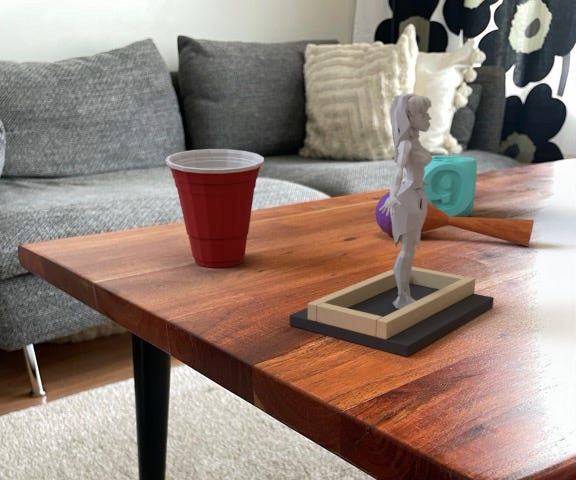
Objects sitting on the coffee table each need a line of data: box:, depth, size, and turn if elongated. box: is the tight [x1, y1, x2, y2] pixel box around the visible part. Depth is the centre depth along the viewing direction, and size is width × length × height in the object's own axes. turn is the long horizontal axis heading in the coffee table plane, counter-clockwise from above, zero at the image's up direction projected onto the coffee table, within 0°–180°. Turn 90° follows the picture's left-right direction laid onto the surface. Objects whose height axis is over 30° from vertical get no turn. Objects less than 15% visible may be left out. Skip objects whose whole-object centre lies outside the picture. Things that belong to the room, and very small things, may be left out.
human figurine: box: [380, 92, 433, 309], centre depth 62 cm, size 12×4×18 cm, turn 158°
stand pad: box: [289, 266, 495, 358], centre depth 66 cm, size 12×16×2 cm
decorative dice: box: [422, 155, 478, 217], centre depth 108 cm, size 8×8×8 cm
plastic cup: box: [164, 148, 265, 268], centre depth 81 cm, size 11×11×12 cm
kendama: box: [374, 191, 535, 247], centre depth 93 cm, size 6×6×20 cm
